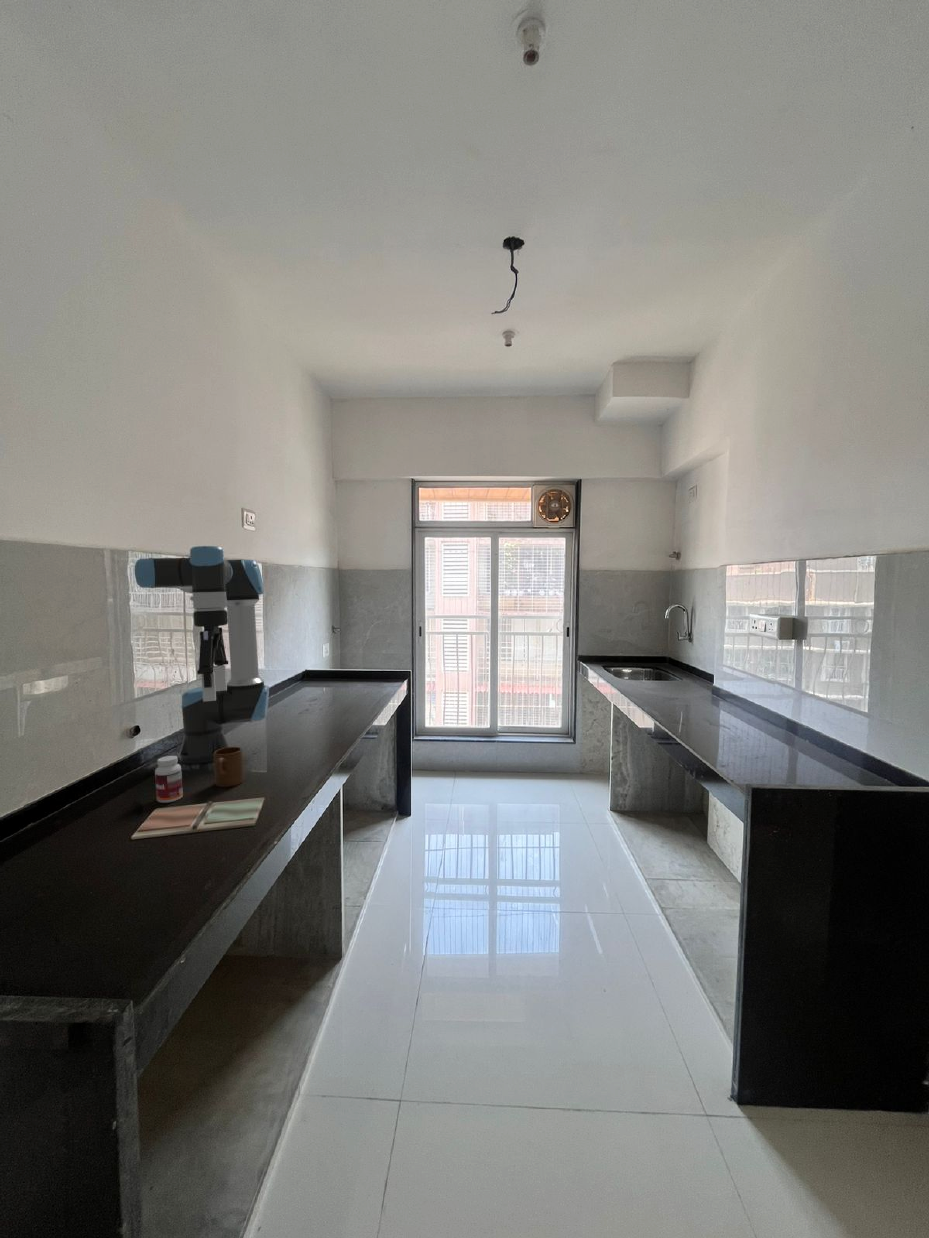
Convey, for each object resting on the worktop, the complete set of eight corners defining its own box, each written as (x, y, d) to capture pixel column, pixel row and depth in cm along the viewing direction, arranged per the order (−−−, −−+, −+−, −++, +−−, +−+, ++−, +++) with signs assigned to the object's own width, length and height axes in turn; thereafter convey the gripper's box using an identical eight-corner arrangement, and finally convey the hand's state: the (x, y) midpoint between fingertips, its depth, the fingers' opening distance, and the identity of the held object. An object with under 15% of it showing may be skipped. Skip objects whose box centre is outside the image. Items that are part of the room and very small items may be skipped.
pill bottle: (152, 799, 147) (150, 759, 147) (177, 792, 152) (174, 753, 151) (162, 805, 143) (159, 763, 143) (187, 797, 148) (184, 757, 147)
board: (155, 811, 140) (155, 805, 140) (264, 799, 145) (264, 794, 145) (131, 839, 124) (131, 833, 124) (254, 825, 129) (254, 819, 129)
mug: (233, 793, 150) (231, 758, 150) (204, 794, 150) (202, 760, 149) (247, 777, 162) (246, 746, 162) (221, 779, 162) (219, 747, 161)
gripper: (205, 608, 147) (209, 687, 149) (180, 612, 123) (186, 707, 124) (235, 607, 149) (239, 685, 150) (216, 611, 125) (222, 704, 126)
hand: (215, 695), depth 137 cm, fingers open, 13 cm apart
